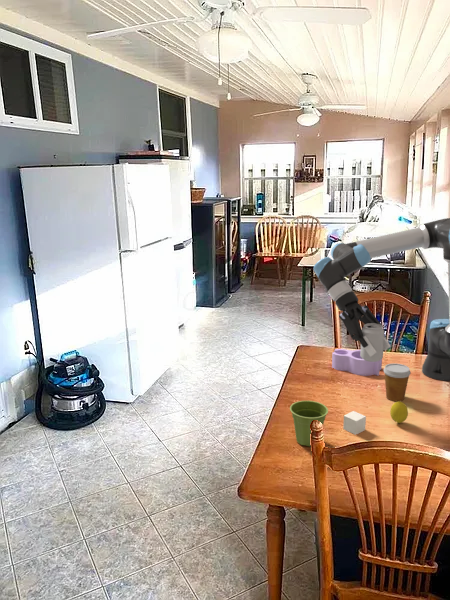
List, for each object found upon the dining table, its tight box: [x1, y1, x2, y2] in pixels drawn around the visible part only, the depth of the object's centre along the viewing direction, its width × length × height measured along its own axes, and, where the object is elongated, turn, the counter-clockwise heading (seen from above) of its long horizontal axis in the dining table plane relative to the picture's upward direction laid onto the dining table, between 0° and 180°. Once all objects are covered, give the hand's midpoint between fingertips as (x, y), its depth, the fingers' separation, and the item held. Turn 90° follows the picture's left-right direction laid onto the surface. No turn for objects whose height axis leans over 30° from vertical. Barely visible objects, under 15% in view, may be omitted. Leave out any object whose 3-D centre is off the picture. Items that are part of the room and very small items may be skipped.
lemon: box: [389, 401, 409, 424], centre depth 166 cm, size 6×6×8 cm
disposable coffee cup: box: [383, 362, 412, 402], centre depth 184 cm, size 10×10×12 cm
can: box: [360, 323, 385, 362], centre depth 169 cm, size 8×8×12 cm
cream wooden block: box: [342, 410, 367, 436], centre depth 163 cm, size 5×5×5 cm
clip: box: [331, 348, 383, 377], centre depth 212 cm, size 20×12×7 cm, turn 65°
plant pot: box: [289, 400, 329, 447], centre depth 156 cm, size 12×12×11 cm
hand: (380, 351), depth 167 cm, fingers closed on can, 7 cm apart
